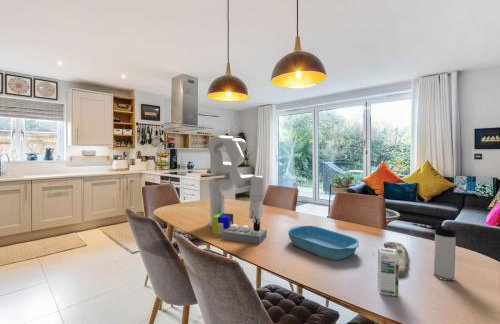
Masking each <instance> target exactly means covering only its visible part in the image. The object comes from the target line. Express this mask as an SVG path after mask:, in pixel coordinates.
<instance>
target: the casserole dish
mask: <svg viewBox="0 0 500 324" xmlns="http://www.w3.org/2000/svg"><path fill="white" fill-rule="evenodd" d="M287 234H288V236H289V237H288V238H289V240H290V243H292V244H293V245H294V246H296V247H298V248H300V249H303V250H306V251H308V252H310V253H312V254H314V253H315V255H316V256H317V255H318V256H320V257H322V256H323V258H325V257H326V258H325V259H328V258H329V260H331V259H332V261H340V260H344V259H346V258H348V257H350V256H351V255H354V253H355V252H356V250H357V249H358V248H359V246H360V244H359V243H360V241H359V239H357V238H355V237H353V236H351V235H347V234H343V233H340V232H337V231H333V230H331V229H326V228H322V227H319V226H316V225H296V226H293V227H290V228H289V229H288V231H287Z"/></svg>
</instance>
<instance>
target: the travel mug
mask: <svg viewBox="0 0 500 324" xmlns="http://www.w3.org/2000/svg"><path fill="white" fill-rule="evenodd" d="M456 233H457V230H456V229H454V228H451V227H449V226H444V225H435V230H434V259H433V261H434V262H433V275H434V276H435V277H436V276H437V277H439V278H442V279H446V280H453V279H454V278H455V277H456V276H455V273H456V272H455V271H456V244H457V243H456V241H457V240H456V238H457V236H456ZM437 277H436V278H437ZM439 278H438V279H439ZM442 279H441V280H442ZM455 279H456V278H455ZM455 279H454V280H455ZM446 280H445V281H446ZM454 280H453V281H454Z"/></svg>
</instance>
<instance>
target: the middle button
mask: <svg viewBox="0 0 500 324" xmlns="http://www.w3.org/2000/svg"><path fill="white" fill-rule="evenodd" d="M240 227H241V232H246V233H248V232H249V228H250V227H249V225H241V226H240Z"/></svg>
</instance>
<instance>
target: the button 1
mask: <svg viewBox="0 0 500 324" xmlns="http://www.w3.org/2000/svg"><path fill="white" fill-rule="evenodd" d="M238 227H239V224H236V223H233V224H231V225H230V231H237V230H238Z"/></svg>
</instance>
